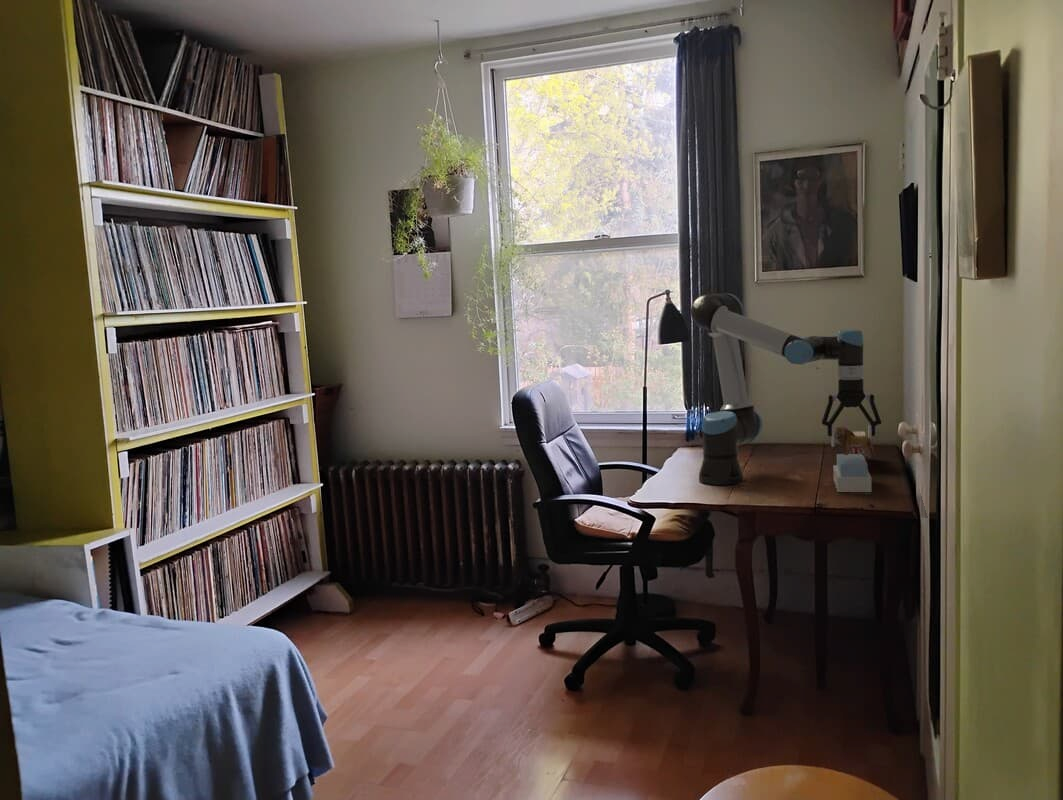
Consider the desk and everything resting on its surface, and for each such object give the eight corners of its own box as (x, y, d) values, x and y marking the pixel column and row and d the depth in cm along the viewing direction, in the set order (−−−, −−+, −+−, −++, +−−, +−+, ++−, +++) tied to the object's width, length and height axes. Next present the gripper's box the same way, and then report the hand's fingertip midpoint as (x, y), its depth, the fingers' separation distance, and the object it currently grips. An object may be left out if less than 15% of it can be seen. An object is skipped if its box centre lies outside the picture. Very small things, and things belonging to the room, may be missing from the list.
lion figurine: (831, 454, 277) (831, 427, 275) (838, 451, 280) (838, 425, 279) (875, 459, 266) (876, 431, 265) (882, 456, 270) (883, 428, 269)
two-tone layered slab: (837, 492, 268) (837, 465, 267) (833, 479, 286) (833, 453, 284) (871, 493, 266) (871, 465, 264) (865, 479, 283) (865, 453, 282)
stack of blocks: (847, 459, 316) (846, 426, 315) (865, 459, 314) (865, 426, 313) (846, 471, 297) (846, 437, 295) (866, 472, 294) (865, 437, 293)
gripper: (813, 380, 271) (814, 448, 273) (891, 378, 264) (891, 448, 267) (812, 377, 278) (813, 443, 281) (887, 376, 272) (888, 443, 274)
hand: (851, 446), depth 274 cm, fingers open, 10 cm apart
